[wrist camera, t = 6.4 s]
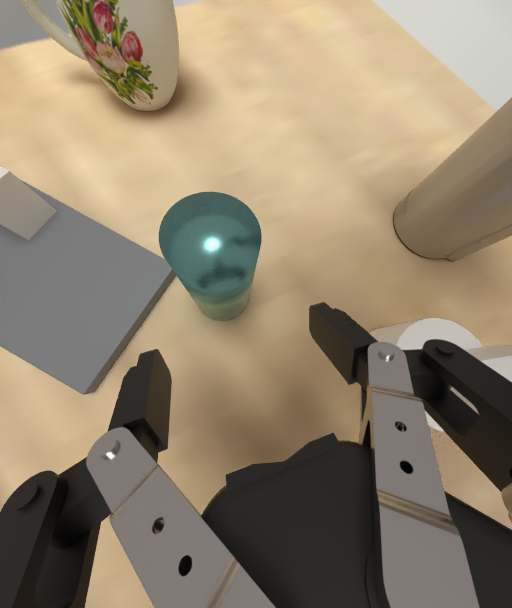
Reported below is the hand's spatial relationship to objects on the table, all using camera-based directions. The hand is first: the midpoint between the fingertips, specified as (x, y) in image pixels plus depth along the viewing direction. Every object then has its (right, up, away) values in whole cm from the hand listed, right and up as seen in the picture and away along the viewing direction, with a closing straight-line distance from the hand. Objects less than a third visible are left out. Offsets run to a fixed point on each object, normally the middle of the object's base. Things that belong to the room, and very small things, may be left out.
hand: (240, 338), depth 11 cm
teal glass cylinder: (-3, +3, +12) cm, 13 cm away
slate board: (-19, +4, +11) cm, 22 cm away
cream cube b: (-22, +11, +11) cm, 27 cm away
